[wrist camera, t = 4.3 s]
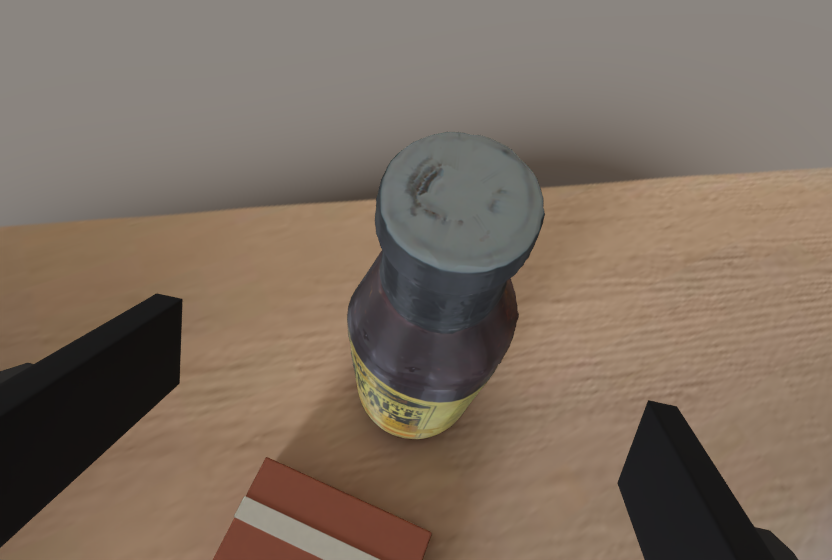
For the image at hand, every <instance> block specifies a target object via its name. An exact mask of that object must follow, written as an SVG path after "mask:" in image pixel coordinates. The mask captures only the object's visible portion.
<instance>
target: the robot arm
mask: <svg viewBox="0 0 832 560" xmlns="http://www.w3.org/2000/svg"><path fill="white" fill-rule="evenodd" d="M181 327H182V299H180V298H175V297H171V296H166V295H162V294H155V295H153V296H151V297H150V298H148V299H146V300H145V301H143V302H141V303H139V304H138V305H136V306H134V307H132V308H131V309H129V310H127V311H125V312H124V313H122V314H120V315H118V316H117V317H115V318H113V319H112V320H110V321H108V322H106V323H105V324H103V325H101V326H99V327H98V328H96V329H94V330H92V331H91V332H89V333H87V334H86V335H84V336H82V337H80V338H79V339H77V340H75V341H73V342H72V343H70V344H68V345H66V346H65V347H63V348H61V349H59V350H58V351H56V352H54V353H53V354H51V355H49V356H47V357H46V358H44V359H42V360H40V361H39V362H37V363H35V364H31V363H25V364H22V365H19V366H16V367H13V368H10V369H6V370H3V371H0V547H2V546H3V545H4V544H5V543H6V542H7V541H8V540H9V539H10V538H11V537H12V536H14V535H15V534H16V533H17V532H18V531H19V530H20V529H21V528H22V527H23V526H24V525H26V524H27V523H28V522H29V521H30V520H31V519H32V518H33V517H34V516H35V515H37V514H38V513H39V512H40V511H41V510H42V509H43V508H44V507H45V506H46V505H47V504H49V503H50V502H51V501H52V500H53V499H54V498H55V497H56V496H57V495H58V494H59V493H61V492H62V491H63V490H64V489H65V488H66V487H67V486H68V485H69V484H70V483H71V482H73V481H74V480H75V479H76V478H77V477H78V476H79V475H80V474H81V473H82V472H83V471H85V470H86V469H87V468H88V467H89V466H90V465H91V464H92V463H93V462H94V461H95V460H97V459H98V458H99V457H100V456H101V455H102V454H103V453H104V452H105V451H106V450H107V449H109V448H110V447H111V446H112V445H113V444H114V443H115V442H116V441H117V440H118V439H119V438H121V437H122V436H123V435H124V434H125V433H126V432H127V431H128V430H129V429H130V428H131V427H133V426H134V425H135V424H136V423H137V422H138V421H139V420H140V419H141V418H142V417H143V416H145V415H146V414H147V413H148V412H149V411H150V410H151V409H152V408H153V407H154V406H156V405H157V404H158V403H159V402H160V401H161V400H162V399H163V398H164V397H165V396H166V395H168V394H169V393H170V392H171V391H172V390H173V389H174V388H175V387H176V386H177V385H178V384H179V383H180V355H181ZM618 486H619V489H620V491H621V494H622V497H623V500H624V503H625V506H626V508H627V511H628V514H629V517H630V520H631V522H632V525H633V528H634V531H635V534H636V537H637V539H638V542H639V545H640V548H641V551H642V553H643V556H644V559H645V560H798V559H797V557H796V556H795V554H794V553H793V552H792V551H791V550H790V549H789V548H788V547H787V546H786V545H785V544H784V543H783V542H782V541H780V540H779V539H778V538H777V537H776V536H775V535H774V534H773V533H772V532H771V531H769V530H765V529H761V528H756V527H754V526H753V524H752V523H751V521H750V520H749V518H748V516H747V515H746V513H745V512H744V510H743V509H742V507H741V506H740V504H739V502H738V501H737V499H736V498H735V496H734V495H733V493H732V492H731V490H730V488H729V487H728V485H727V484H726V482H725V481H724V479H723V478H722V476H721V474H720V473H719V471H718V470H717V468H716V467H715V465H714V464H713V462H712V460H711V459H710V457H709V456H708V454H707V453H706V451H705V450H704V448H703V446H702V445H701V443H700V442H699V440H698V439H697V437H696V436H695V434H694V432H693V431H692V429H691V428H690V426H689V425H688V423H687V422H686V420H685V418H684V417H683V415H682V414H681V412H680V411H679V409H678V407H677V406H672V405H667V404H663V403H658V402H654V401H649V400H648V402H647V405H646V408H645V410H644V413H643V416H642V418H641V421H640V424H639V426H638V429H637V432H636V435H635V437H634V440H633V443H632V445H631V448H630V451H629V453H628V456H627V459H626V461H625V464H624V467H623V469H622V472H621V475H620V477H619V480H618Z"/></svg>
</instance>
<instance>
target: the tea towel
mask: <svg viewBox="0 0 832 560" xmlns="http://www.w3.org/2000/svg"><path fill="white" fill-rule="evenodd" d="M234 517H235V518H234V520H233V522H232V524H231V526H230V528H229V529H228V531H227V533H226V535H225V537H224V539H223V541H222V543H221V545H220V547H219V549H218V551H217V553H216V555H215V556H214V558H213V560H423V557H424V554H425V551H426V548H427V546H428V543H429V540H430V537H431V535H432V533H431V532H430V531H428V530H426V529H423V528H421V527H419V526H417V525H415V524H412V523H410V522H408V521H406V520H404V519H402V518H399V517H397V516H395V515H393V514H391V513H388V512H386V511H384V510H382V509H380V508H377V507H375V506H373V505H371V504H369V503H366V502H364V501H362V500H360V499H358V498H355V497H353V496H351V495H349V494H347V493H345V492H342V491H340V490H338V489H336V488H334V487H331V486H329V485H327V484H325V483H323V482H320V481H318V480H316V479H314V478H312V477H309V476H307V475H305V474H303V473H301V472H299V471H296V470H294V469H292V468H290V467H288V466H285V465H283V464H281V463H279V462H277V461H274V460H272V459H270V458H268V457H266V458H265V460H264V462H263V464H262V466H261V468H260V470H259V472H258V474H257V475H256V477H255V479H254V481H253V483H252V485H251V487H250V489H249V491H248V493H247V495H246V496H244V498H243V500H242V502H241V504H240V506H239V508H238V510H237V512H236V513H235V515H234Z"/></svg>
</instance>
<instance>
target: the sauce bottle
mask: <svg viewBox="0 0 832 560" xmlns="http://www.w3.org/2000/svg"><path fill="white" fill-rule="evenodd" d="M544 215H545V213H544V208H543V196H542V192H541V189H540V186H539V183H538V180H537V178H536V177H535V175H534V173H533V172H532V170H531V169H530V168H529V167H528V166H527V165H526V164H525V163H524V162H523V161H522V160H521V159H520V158H519V157H518V156H517V155H516V154H515V153H514V152H513V151H512V150H511V149H510V148H508V147H507V146H505V145H503V144H501V143H499V142H497V141H495V140H493V139H491V138H488V137H485V136H481V135H470V134H466V133H459V132H445V133H440V134H434V135H432V136H428V137H426V138H423V139H420V140H418V141H415V142H413V143H411V144H410V145H409V146H407V147H406V148H405V149H403V150H402V151H401V152H399V153H398V154H397V155H396V156H395V157H394V158H393V159H392V160H391V162H390V163H389V165H388V167H387V169H386V171H385V173H384V175H383V177H382V179H381V183H380V187H379V191H378V195H377V198H376V213H375V226H376V234H377V237H378V239H379V242H380V246H381V248H382V251H381V253H380V254H379V256H378V257H377V259H376V260H375V262H374V263H373V265H372V266H371V268H370V269H369V271H368V272H367V274H366V275H365V277H364V278H363V280H362V281H361V282H360V284H359V285H358V287H357V288H356V290H355V292H354V293H353V295H352V297H351V300H350V303H349V306H348V314H347V322H348V335H349V340H350V344H351V355H352V360H353V366H354V371H355V376H356V383H357V389H358V394H359V397H360V400H361V403H362V405H363V407H364V409H365V411H366V412H367V414H368V415H369V417H370V418H371V419H372V421H373V422H375V423H376V424H377V425H378V426H379V427H380V428H382V429H383V430H385V431H386V432H388V433H391V434H393V435H394V436H397V437H399V438H409V439H423V438H428V437H431V436H434V435H437V434H439V433H441V432H443V431H445V430H446V429H448V428H449V427H451V426H452V425H453V424H454V423H455V422H456V421H457V420H458V419H459V418H460V417H461V416H462V414H463V413H464V411H465V410H466V409H467V407H468V406H469V404H470V403H471V402H472V400H473V399H474V398H475V397H476V395H477V394H478V393H479V391H480V390H481V389H482V388H483V387H484V385H485V384H486V383H487V381H488V380H489V379H490V377H491V376H492V375H493V373H494V372H495V370H496V368H497V366H498V364H500V363H501V360H502V359H503V356H504V355H505V353H506V352H507V350H508V348H509V346H510V343H511V341H512V338H513V335H514V331H515V327H516V322H517V320H518V317H519V314H518V311H517V303H516V296H515V291H514V288H513V284H512V281H511V277H513V276H514V275H515V274H516V273H517V272H518V270H519V269H520V268H521V267H522V266H523V265H524V263H525V261H526V260H527V259H528V257H529V255H530V252H531V251H532V249H533V247H534V245H535V242H536V240H537V238H538V235H539V232H540V230H541V227H542V224H543V220H544Z"/></svg>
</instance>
